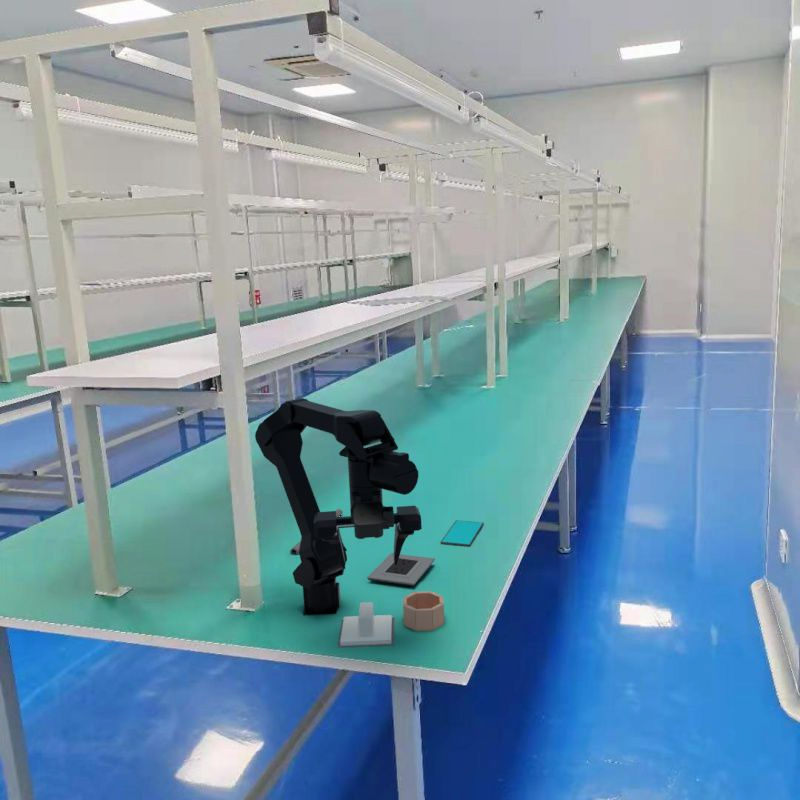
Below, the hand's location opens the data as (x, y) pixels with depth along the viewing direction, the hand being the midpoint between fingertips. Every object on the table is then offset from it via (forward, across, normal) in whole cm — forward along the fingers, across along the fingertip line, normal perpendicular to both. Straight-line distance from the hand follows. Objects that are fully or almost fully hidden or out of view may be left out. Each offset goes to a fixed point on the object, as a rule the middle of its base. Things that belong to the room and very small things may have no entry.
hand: (369, 566), depth 130 cm
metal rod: (+14, -11, +51) cm, 54 cm away
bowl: (+13, +10, +2) cm, 16 cm away
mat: (+13, -1, 0) cm, 13 cm away
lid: (+13, -1, 0) cm, 13 cm away
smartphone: (+14, +24, +44) cm, 52 cm away
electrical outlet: (+14, +8, +24) cm, 28 cm away
